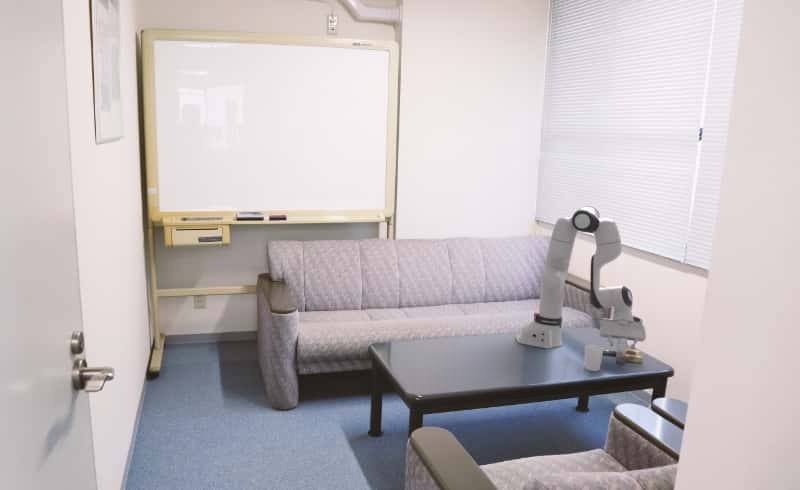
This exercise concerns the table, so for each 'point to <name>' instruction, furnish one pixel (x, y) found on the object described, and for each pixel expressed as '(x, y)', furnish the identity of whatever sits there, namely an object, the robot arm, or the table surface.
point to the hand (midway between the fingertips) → (622, 346)
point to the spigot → (621, 350)
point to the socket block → (633, 356)
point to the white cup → (593, 357)
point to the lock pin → (609, 352)
